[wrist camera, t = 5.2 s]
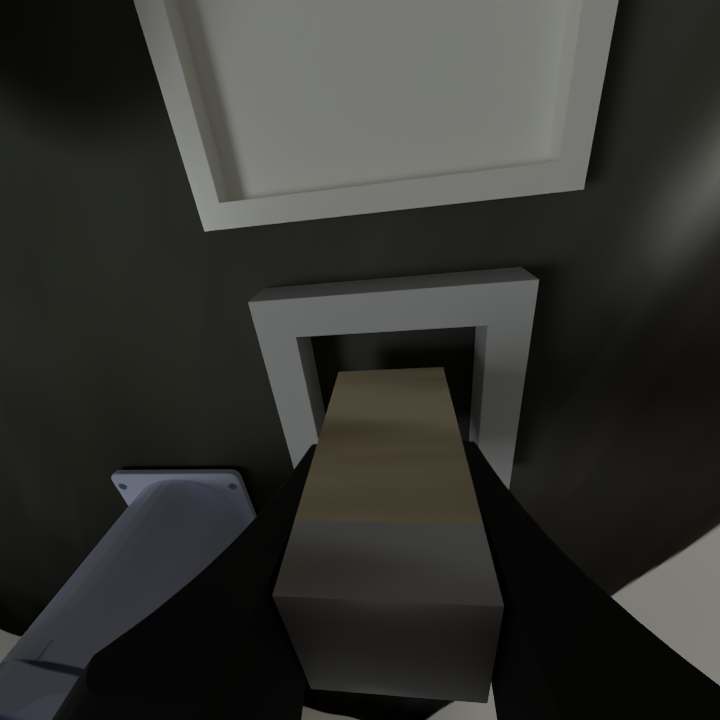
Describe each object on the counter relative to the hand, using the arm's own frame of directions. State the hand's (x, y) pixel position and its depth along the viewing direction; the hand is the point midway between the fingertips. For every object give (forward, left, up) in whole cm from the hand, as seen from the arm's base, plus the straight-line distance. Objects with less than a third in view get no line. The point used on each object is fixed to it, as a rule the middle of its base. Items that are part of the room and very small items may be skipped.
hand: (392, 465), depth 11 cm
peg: (0, 0, -3) cm, 3 cm away
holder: (0, 0, -5) cm, 5 cm away
